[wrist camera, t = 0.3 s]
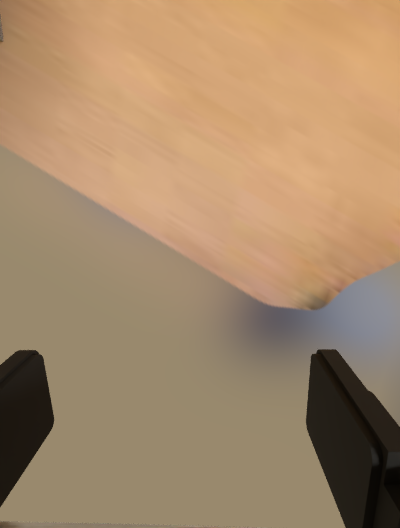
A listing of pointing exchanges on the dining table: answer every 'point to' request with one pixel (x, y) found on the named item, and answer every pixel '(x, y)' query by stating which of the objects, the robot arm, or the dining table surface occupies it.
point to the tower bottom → (0, 34)
